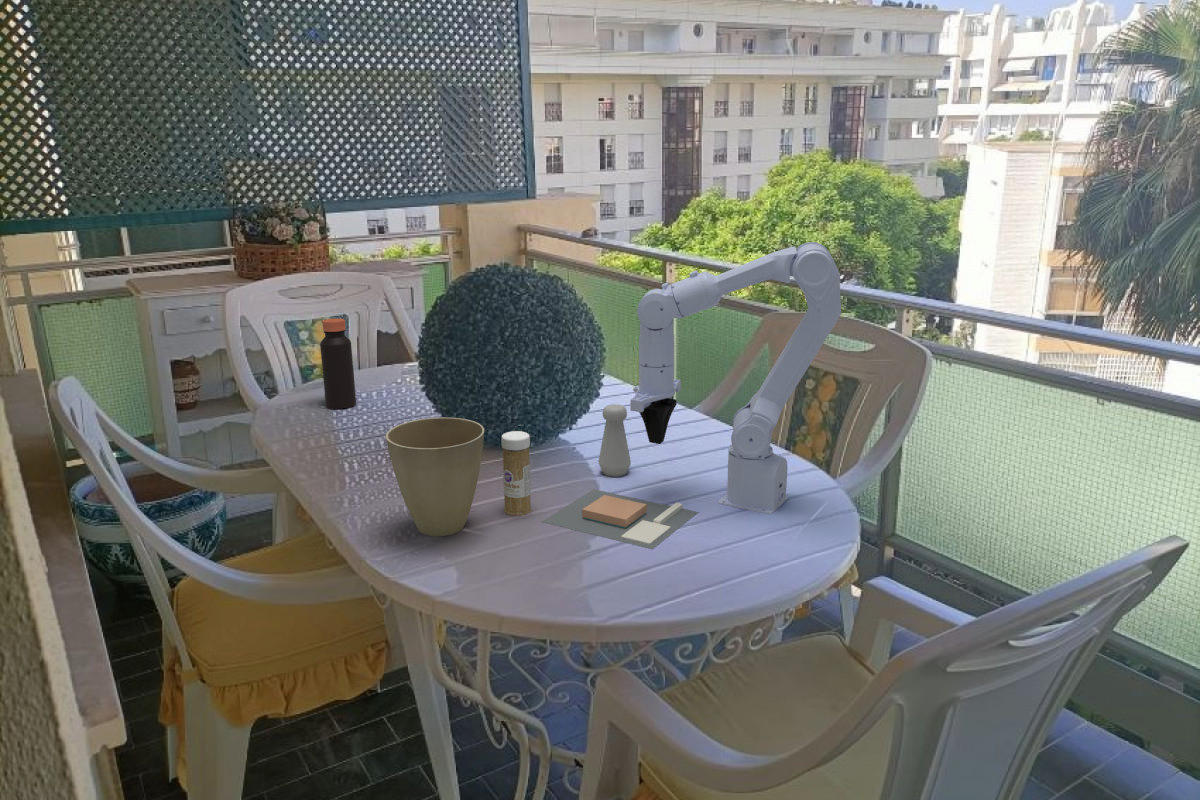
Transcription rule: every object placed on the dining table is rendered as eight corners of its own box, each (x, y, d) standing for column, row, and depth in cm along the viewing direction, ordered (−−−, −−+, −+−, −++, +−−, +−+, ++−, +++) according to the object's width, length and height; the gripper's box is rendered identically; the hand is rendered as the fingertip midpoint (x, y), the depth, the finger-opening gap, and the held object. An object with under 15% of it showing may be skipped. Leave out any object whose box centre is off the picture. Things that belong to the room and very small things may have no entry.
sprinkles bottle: (499, 515, 149) (495, 436, 145) (512, 505, 153) (510, 428, 149) (523, 519, 147) (521, 440, 143) (537, 509, 151) (534, 432, 147)
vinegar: (348, 399, 215) (341, 316, 209) (361, 406, 210) (354, 320, 204) (321, 405, 211) (312, 320, 205) (333, 411, 206) (325, 324, 200)
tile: (646, 504, 147) (625, 519, 142) (646, 513, 148) (625, 529, 142) (604, 495, 151) (582, 509, 146) (604, 504, 152) (582, 518, 146)
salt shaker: (593, 476, 165) (592, 408, 161) (607, 466, 170) (607, 400, 166) (622, 482, 162) (622, 412, 159) (636, 471, 167) (636, 404, 164)
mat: (698, 514, 148) (698, 512, 148) (652, 551, 135) (652, 549, 135) (593, 491, 158) (593, 489, 158) (541, 523, 145) (541, 521, 145)
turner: (665, 504, 151) (665, 500, 151) (693, 510, 149) (693, 506, 148) (620, 538, 139) (620, 533, 139) (649, 545, 136) (649, 540, 136)
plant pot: (375, 527, 144) (366, 432, 140) (452, 501, 154) (446, 411, 150) (428, 557, 134) (422, 454, 130) (507, 527, 144) (503, 431, 140)
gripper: (654, 351, 157) (654, 426, 161) (613, 370, 145) (614, 450, 149) (692, 356, 154) (691, 432, 158) (652, 375, 142) (652, 457, 146)
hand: (656, 442), depth 153 cm, fingers closed
